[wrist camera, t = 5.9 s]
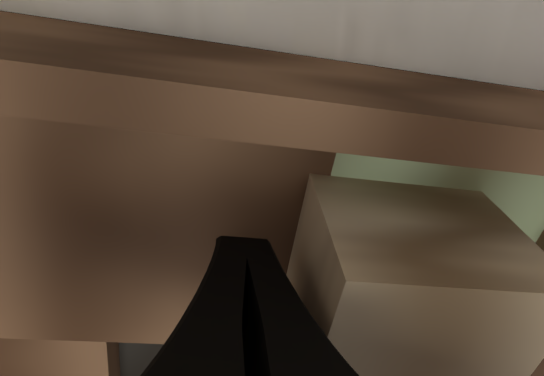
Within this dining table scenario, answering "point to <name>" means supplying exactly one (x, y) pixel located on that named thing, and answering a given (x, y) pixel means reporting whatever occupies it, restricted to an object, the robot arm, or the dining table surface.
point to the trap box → (204, 172)
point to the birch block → (418, 279)
